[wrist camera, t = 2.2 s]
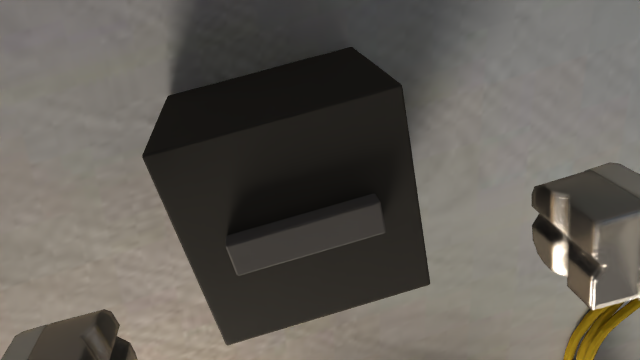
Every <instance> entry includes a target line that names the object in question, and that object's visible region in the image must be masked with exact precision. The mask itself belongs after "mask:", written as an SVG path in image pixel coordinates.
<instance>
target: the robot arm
mask: <svg viewBox="0 0 640 360" xmlns="http://www.w3.org/2000/svg"><path fill="white" fill-rule="evenodd" d="M532 207H533V208H534V209H535V210H536V211H537V212H538V213H539V215H538V217H537V218H536V220H535V221H534V223H533V225H532V234H533V242H534V245H535V247H536V250H537V253H538V255H539V256H540V258H541V259H542V261H543V262H544V264H545V265H546V266H547V267H548V268H549V269H550V270H551V271H553V272H556V273H559V274H562V275H565V276H567V286H568V287H569V288H570V289H571V290H572V291H573V292H574V293H575V294H576V295H577V296H578V297H579V298H580V299H581V300H582V301H583V302H584V303H585V304H586V305H587V306H588V307H589V308H590V309H591V310H596V309H599V308H603V307H607V306H610V305H614V304H618V303H621V302H625V301H629V300H632V299H636V298H639V300H640V174H638V173H636V172H634V171H632V170H630V169H628V168H626V167H625V166H623V165H621V164H618V163H607V164H604V165H601V166H598V167H595V168H592V169H589V170H586V171H584V172H581V173H578V174H574V175H571V176H568V177H565V178H561V179H558V180H555V181H551V182H548V183H545V184H541V185H538V186H535V187H534V189H533V192H532ZM119 326H120V325H119V323H118V321H117V320H116V318H115V317H114V315H113V314H112V312H111V311H108V310H105V309H103V310H100V311H96V312H92V313H88V314H85V315H81V316H77V317H73V318H70V319H66V320H62V321H58V322H54V323H51V324H49V325H43V326H40V327H36V328H33V329H30V330H26V331H23V332H21V333H20V334H18V335H16V336H15V337H14V339H13V341H12V342H11V344H10V346H9V347H8V349H7V351H6V352H5V354H4V356H3V357H2V359H1V360H137V356H136V353H135V351H134V349H133V347H132V346H131V344H130V342H128V341H126V340H123V339H121V338H119V337H117V333H118V329H119Z"/></svg>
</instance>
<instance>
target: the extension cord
mask: <svg viewBox="0 0 640 360" xmlns="http://www.w3.org/2000/svg"><path fill="white" fill-rule="evenodd" d="M623 303H624V302H621V303H618V304H614V305H610V306H607V307H603V308H599V309H596V310H590V311H589V312H588V313H587V314H586V315H585V317H584V318H583V320H582V321H581V322H580V324H579V325H578V327H577V328H576V329H575V331H574V332H573V334H572V336H571V338H570V340H569V343H568V345H567V348H566V351H565V355H564V360H573V357H574V354H575V351H576V349H577V346H578V344H579V341H580V339H581V337H582V336H583V335H584V334H585V332H586V331H587V330H588V328H589V327H590V326H591V325H592V326H591V327H590V329H589V330H588V332H587V333H586V335H585V337H584V339H583V340H582V342H581V344H580V347H579V350H578V352H577V356H576V360H594V357H595V355H596V353H597V351H598V349H599V346H600V345H601V343H602V342H603V341H604V339H605V338H606V336H607V335H608V334H609V333H610V332H611V331H612V330H613V329H614V328H615V327H616V326H617V325H618V324H619V323H620V322H621V321H623V320H624V319H625V318H627V317H628V316H629V315H630V314H632V313H633V312H634V311H635V310H637V309H638V308H639V307H640V300H639V298H636V299H633V300H631V301H630V302H629V303H628V304H626V305H625V306H624V307H623V308H621V309H620V310H619V311H617V310H618V309H619V307H620V306H621V305H622V304H623ZM616 311H617V312H616ZM615 312H616V313H615ZM614 313H615V314H614ZM613 314H614V315H613ZM597 317H598V318H597ZM596 318H597V319H596ZM594 321H595V322H594ZM593 322H594V323H593ZM592 323H593V324H592Z"/></svg>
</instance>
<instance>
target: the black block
mask: <svg viewBox="0 0 640 360" xmlns="http://www.w3.org/2000/svg"><path fill="white" fill-rule="evenodd" d="M143 160H144V162H145V164H146V166H147V169H148V171H149V173H150V175H151V178H152V180H153V182H154V184H155V187H156V189H157V191H158V193H159V195H160V198H161V200H162V202H163V204H164V207H165V209H166V211H167V213H168V216H169V218H170V220H171V222H172V225H173V227H174V229H175V231H176V234H177V236H178V238H179V240H180V243H181V245H182V247H183V249H184V252H185V254H186V256H187V258H188V260H189V263H190V265H191V267H192V269H193V272H194V274H195V276H196V278H197V281H198V283H199V285H200V287H201V290H202V292H203V294H204V296H205V299H206V301H207V303H208V305H209V308H210V310H211V312H212V314H213V316H214V319H215V321H216V323H217V325H218V328H219V330H220V332H221V334H222V337H223V339H224V341H225V343H226V345H231V344H234V343H237V342H241V341H244V340H247V339H251V338H254V337H257V336H261V335H264V334H267V333H271V332H274V331H277V330H281V329H284V328H287V327H291V326H294V325H297V324H300V323H304V322H307V321H310V320H314V319H317V318H320V317H324V316H327V315H330V314H334V313H337V312H340V311H344V310H347V309H350V308H354V307H357V306H360V305H364V304H367V303H370V302H374V301H377V300H380V299H384V298H387V297H390V296H394V295H397V294H400V293H404V292H407V291H410V290H414V289H417V288H420V287H423V286H427V285H429V284H430V279H429V272H428V265H427V258H426V251H425V243H424V236H423V229H422V222H421V215H420V208H419V201H418V194H417V187H416V180H415V173H414V166H413V159H412V152H411V145H410V138H409V131H408V124H407V117H406V110H405V103H404V96H403V88H402V85H401V84H400V83H399V82H397V81H396V80H395V79H394V78H392V77H391V76H390V75H388V74H387V73H386V72H384V71H383V70H382V69H380V68H379V67H378V66H376V65H375V64H374V63H372V62H371V61H370V60H369V59H367V58H366V57H365V56H363V55H362V54H361V53H359V52H358V51H357V50H355V49H354V48H353V47H349V48H345V49H342V50H338V51H334V52H331V53H327V54H323V55H319V56H316V57H312V58H308V59H304V60H301V61H297V62H293V63H289V64H286V65H282V66H278V67H275V68H271V69H267V70H263V71H260V72H256V73H252V74H248V75H245V76H241V77H237V78H234V79H230V80H226V81H222V82H219V83H215V84H211V85H207V86H204V87H200V88H196V89H192V90H189V91H185V92H181V93H178V94H174V95H170V96H168V97H167V99H166V101H165V104H164V106H163V108H162V111H161V113H160V115H159V118H158V120H157V122H156V125H155V127H154V129H153V132H152V134H151V136H150V139H149V141H148V143H147V146H146V148H145V150H144V153H143Z"/></svg>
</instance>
